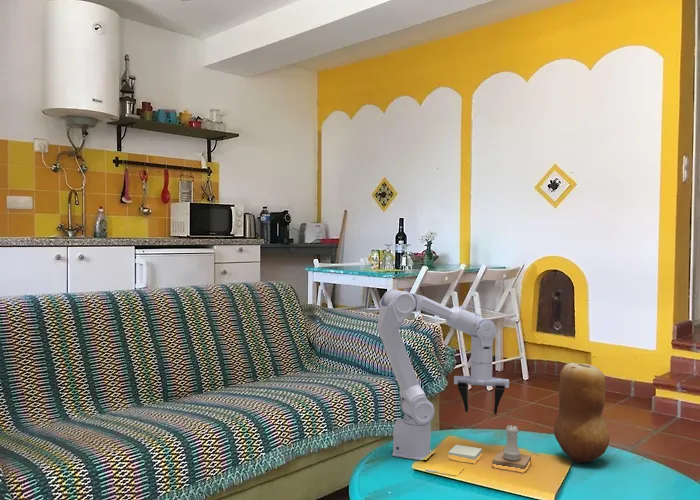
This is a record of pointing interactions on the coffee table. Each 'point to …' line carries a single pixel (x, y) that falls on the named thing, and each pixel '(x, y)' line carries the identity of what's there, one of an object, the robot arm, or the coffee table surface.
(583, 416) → the butternut squash
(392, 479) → the coffee table surface
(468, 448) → the grey-green block
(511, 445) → the rook chess piece
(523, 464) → the walnut block
